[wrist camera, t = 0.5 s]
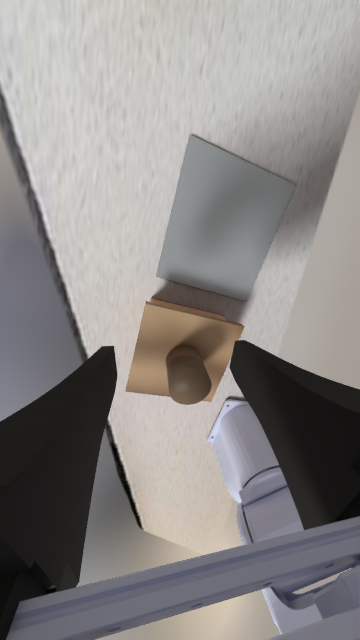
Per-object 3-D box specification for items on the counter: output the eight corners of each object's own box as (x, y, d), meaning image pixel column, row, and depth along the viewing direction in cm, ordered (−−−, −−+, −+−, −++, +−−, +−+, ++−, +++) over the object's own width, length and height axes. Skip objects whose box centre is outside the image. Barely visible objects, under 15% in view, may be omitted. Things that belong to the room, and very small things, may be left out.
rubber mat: (245, 300, 21) (246, 301, 21) (156, 275, 19) (156, 276, 19) (293, 186, 17) (296, 185, 17) (188, 137, 15) (189, 134, 15)
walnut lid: (209, 396, 22) (223, 434, 17) (126, 386, 19) (118, 426, 15) (240, 323, 18) (268, 347, 14) (146, 301, 16) (142, 320, 12)
